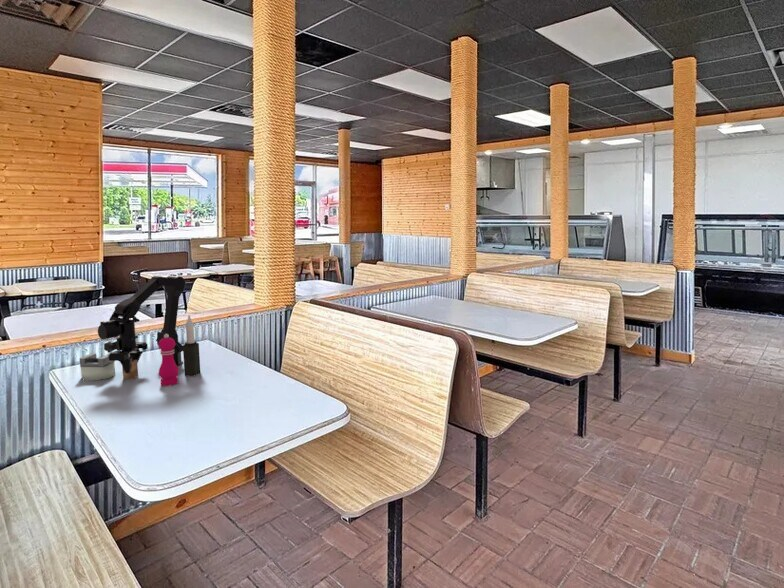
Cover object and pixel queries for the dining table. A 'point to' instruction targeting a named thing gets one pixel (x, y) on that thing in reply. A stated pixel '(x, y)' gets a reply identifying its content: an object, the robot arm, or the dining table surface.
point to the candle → (191, 351)
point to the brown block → (131, 371)
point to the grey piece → (98, 372)
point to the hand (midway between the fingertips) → (130, 371)
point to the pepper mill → (168, 362)
